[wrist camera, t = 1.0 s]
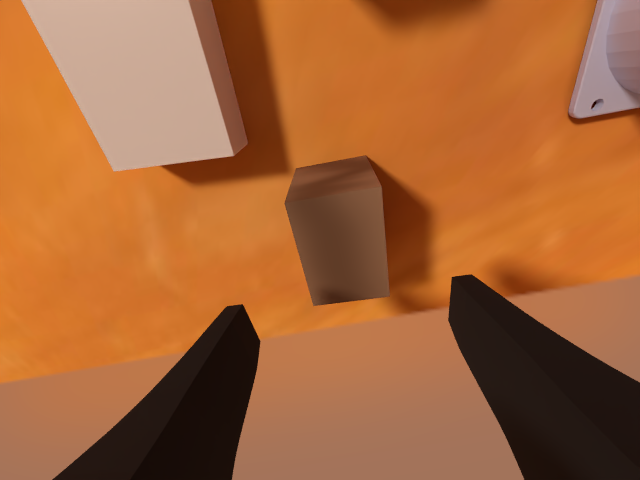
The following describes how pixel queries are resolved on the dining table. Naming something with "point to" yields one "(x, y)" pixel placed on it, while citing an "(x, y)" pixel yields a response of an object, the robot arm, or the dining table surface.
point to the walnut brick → (340, 230)
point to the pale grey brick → (145, 77)
